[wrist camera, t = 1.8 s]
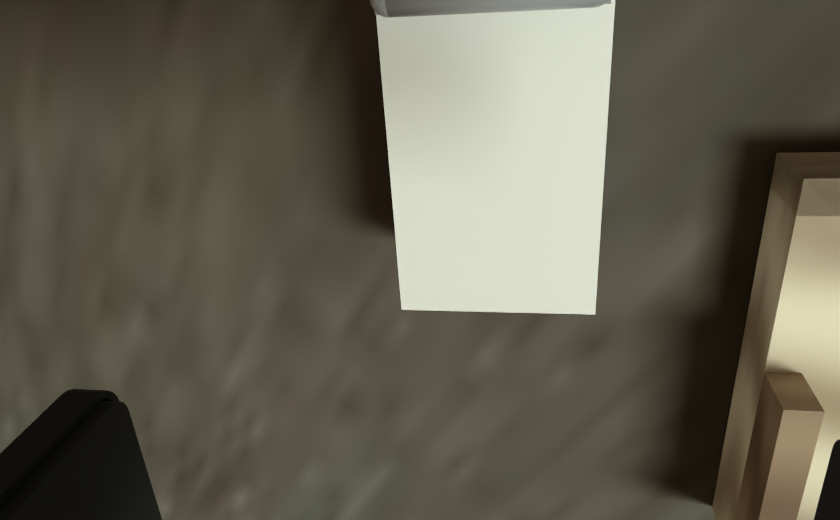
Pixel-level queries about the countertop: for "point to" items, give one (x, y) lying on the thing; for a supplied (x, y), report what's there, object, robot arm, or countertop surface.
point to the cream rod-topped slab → (496, 150)
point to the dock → (788, 352)
